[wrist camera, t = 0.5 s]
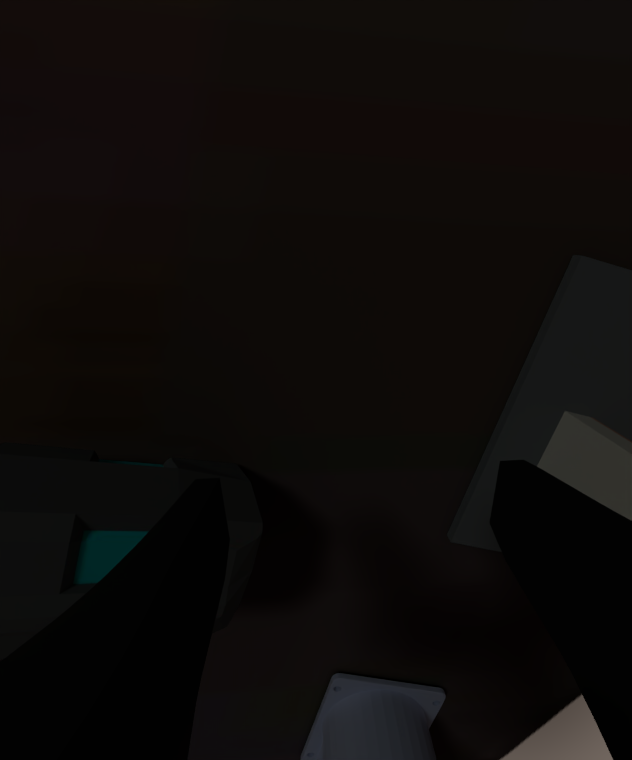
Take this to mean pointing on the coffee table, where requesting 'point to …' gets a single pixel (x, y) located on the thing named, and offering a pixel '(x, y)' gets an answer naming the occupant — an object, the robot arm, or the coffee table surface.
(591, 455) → the tile
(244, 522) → the gun
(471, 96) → the coffee table surface
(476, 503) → the mat
